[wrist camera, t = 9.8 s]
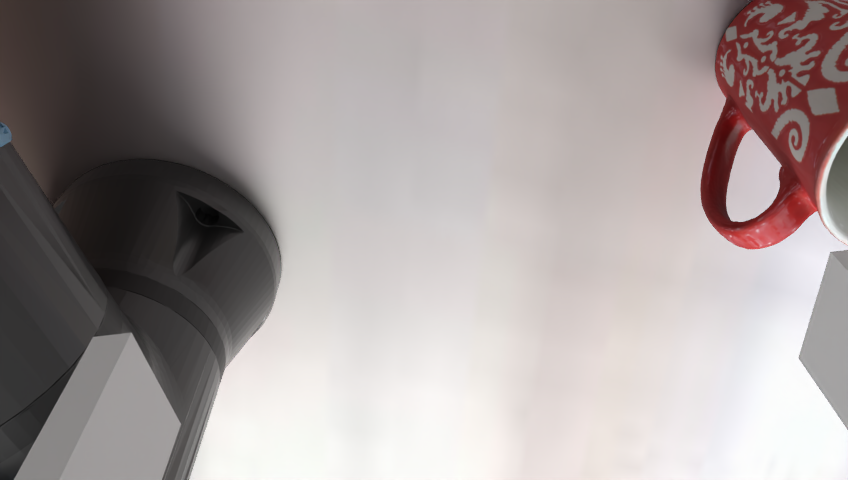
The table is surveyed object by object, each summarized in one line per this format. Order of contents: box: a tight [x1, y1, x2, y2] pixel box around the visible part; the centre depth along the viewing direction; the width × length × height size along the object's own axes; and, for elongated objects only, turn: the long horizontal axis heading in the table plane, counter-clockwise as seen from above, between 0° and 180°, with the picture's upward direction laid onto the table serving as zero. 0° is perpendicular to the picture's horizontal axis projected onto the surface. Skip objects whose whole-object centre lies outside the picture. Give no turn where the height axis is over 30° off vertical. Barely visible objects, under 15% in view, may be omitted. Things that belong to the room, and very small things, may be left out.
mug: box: [701, 0, 848, 249], centre depth 31 cm, size 13×9×14 cm
